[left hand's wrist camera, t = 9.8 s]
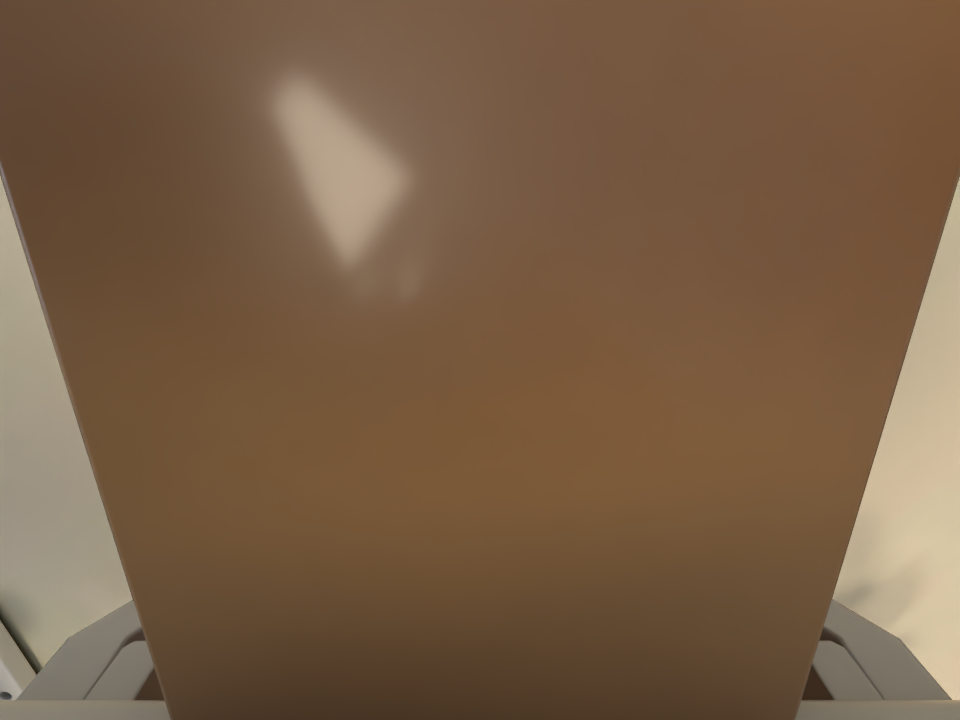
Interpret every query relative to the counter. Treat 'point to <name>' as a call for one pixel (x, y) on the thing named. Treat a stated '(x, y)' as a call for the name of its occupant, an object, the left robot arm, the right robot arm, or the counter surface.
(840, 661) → the left robot arm
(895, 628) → the counter surface
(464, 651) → the box
